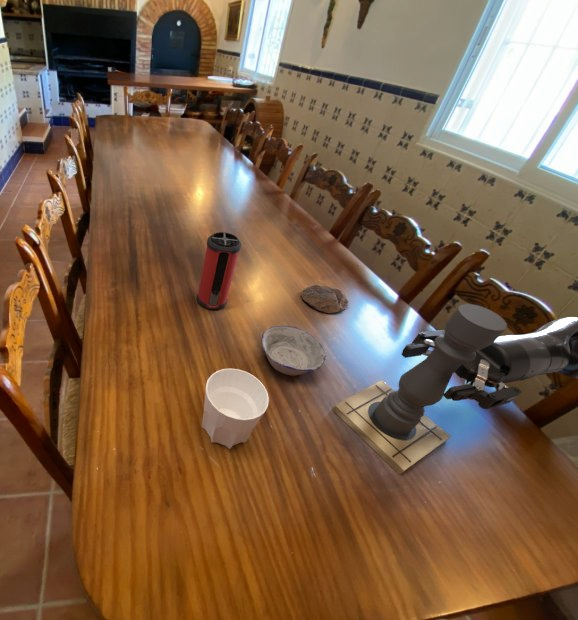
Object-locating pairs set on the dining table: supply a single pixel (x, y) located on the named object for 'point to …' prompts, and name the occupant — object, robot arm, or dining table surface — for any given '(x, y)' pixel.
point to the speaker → (218, 270)
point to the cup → (233, 406)
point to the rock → (325, 298)
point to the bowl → (292, 350)
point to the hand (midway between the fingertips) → (425, 371)
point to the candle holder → (439, 367)
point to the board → (387, 444)
